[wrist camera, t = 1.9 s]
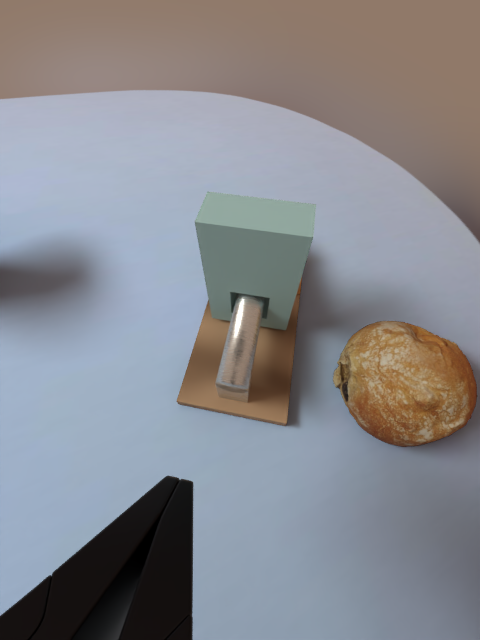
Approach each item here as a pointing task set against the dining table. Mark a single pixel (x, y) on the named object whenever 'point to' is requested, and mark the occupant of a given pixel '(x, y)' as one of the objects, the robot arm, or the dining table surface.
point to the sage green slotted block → (254, 252)
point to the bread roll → (405, 383)
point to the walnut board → (267, 371)
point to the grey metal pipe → (240, 348)
